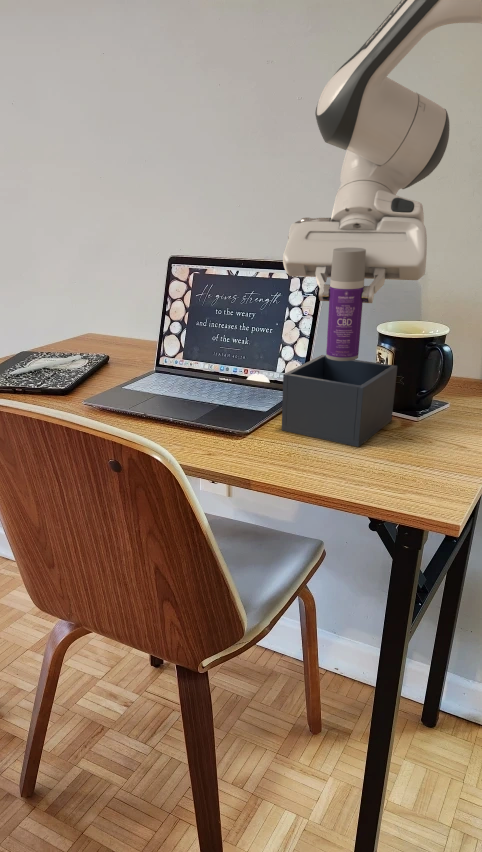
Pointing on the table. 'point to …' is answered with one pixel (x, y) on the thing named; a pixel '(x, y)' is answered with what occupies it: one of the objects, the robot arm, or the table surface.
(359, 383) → the bin
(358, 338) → the container
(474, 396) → the table surface
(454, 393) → the table surface
